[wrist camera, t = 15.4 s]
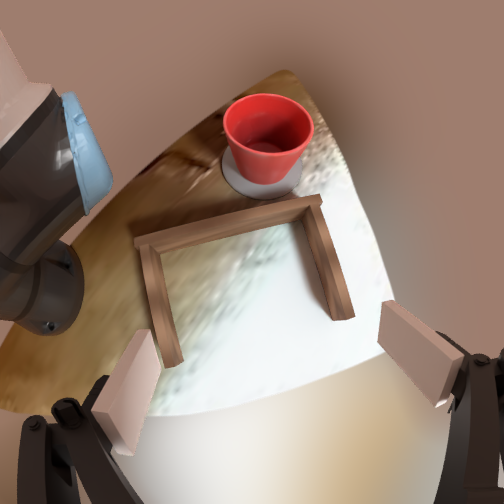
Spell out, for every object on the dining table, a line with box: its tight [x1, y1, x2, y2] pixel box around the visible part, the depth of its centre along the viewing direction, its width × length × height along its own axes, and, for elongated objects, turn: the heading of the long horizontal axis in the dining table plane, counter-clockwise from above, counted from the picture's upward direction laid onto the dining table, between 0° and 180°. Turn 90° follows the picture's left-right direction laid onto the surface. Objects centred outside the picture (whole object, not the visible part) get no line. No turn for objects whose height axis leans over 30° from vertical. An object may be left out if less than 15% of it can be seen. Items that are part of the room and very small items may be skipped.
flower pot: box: [223, 94, 314, 185], centre depth 35 cm, size 11×11×10 cm
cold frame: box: [134, 194, 355, 368], centre depth 33 cm, size 16×24×5 cm, turn 105°
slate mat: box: [222, 146, 302, 200], centre depth 40 cm, size 12×12×1 cm
